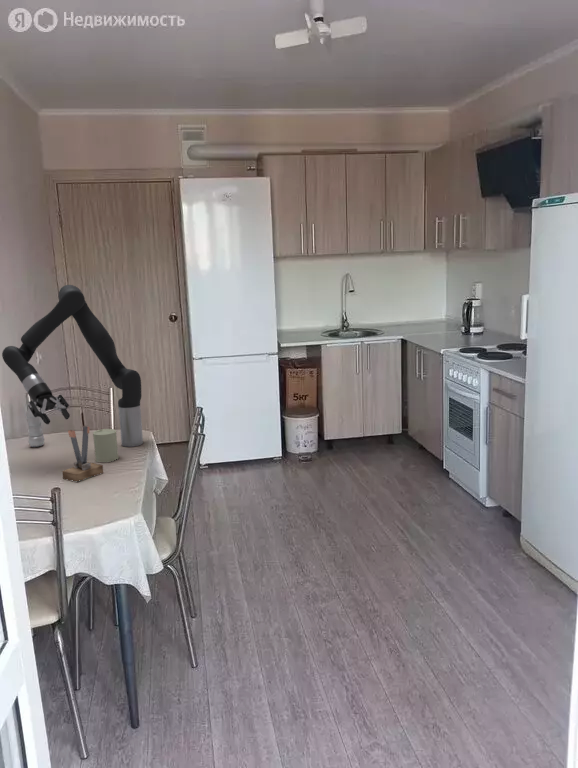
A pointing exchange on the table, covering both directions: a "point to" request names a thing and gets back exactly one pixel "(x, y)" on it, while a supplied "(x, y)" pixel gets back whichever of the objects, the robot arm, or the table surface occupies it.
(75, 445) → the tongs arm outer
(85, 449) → the bar
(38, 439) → the plastic bottle
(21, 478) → the table surface
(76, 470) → the stand
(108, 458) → the can
